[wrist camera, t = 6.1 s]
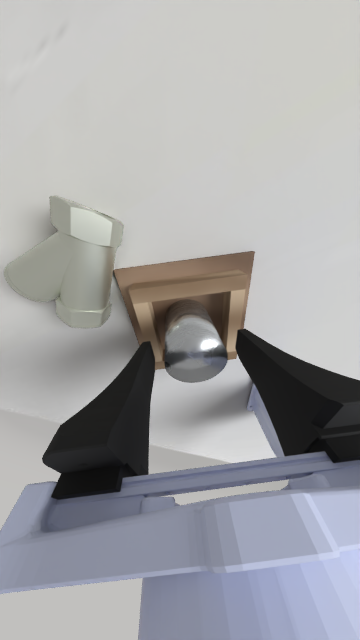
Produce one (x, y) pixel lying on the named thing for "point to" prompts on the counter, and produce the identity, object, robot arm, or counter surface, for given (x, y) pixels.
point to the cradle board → (187, 296)
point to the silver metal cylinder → (192, 343)
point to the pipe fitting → (71, 264)
